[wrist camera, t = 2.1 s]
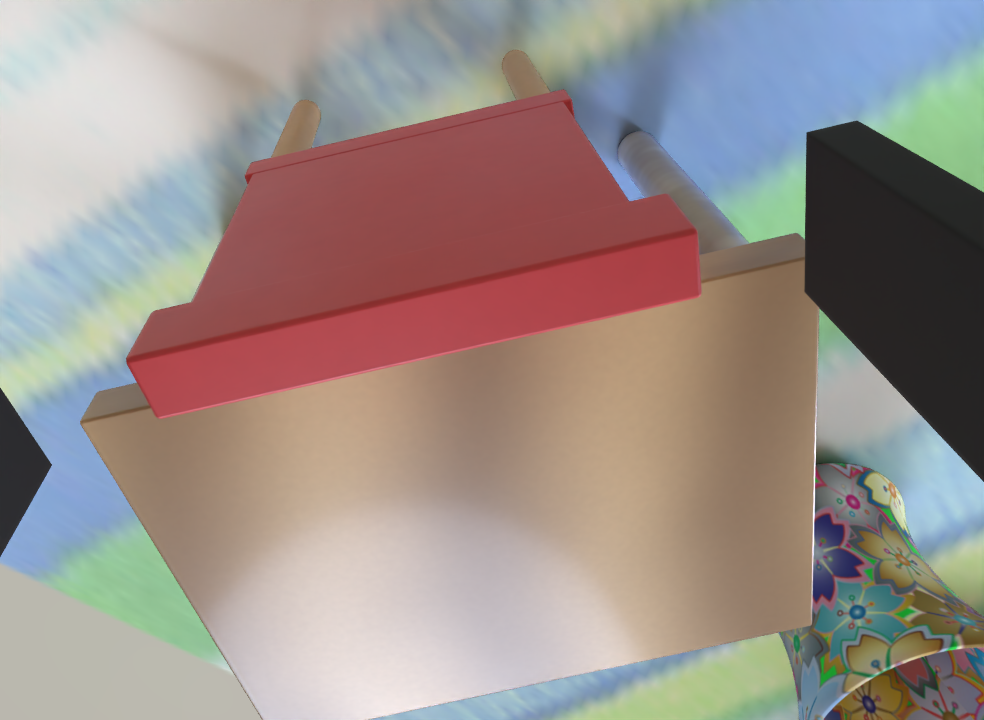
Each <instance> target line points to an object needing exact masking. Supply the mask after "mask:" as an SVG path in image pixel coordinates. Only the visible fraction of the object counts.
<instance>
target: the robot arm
mask: <svg viewBox="0 0 984 720" xmlns="http://www.w3.org/2000/svg"><path fill="white" fill-rule="evenodd" d="M804 292H805V293H806V294H807V295H808V296H809V297H810V298H811V300H812V301H813V302H814V303H815V304H816V305H817V306H818V307H819V308H820V309H821V310H822V311H823V312H824V313H825V314H826V315H827V316H828V318H829V319H830V320H831V321H832V322H833V323H834V324H835V325H836V326H837V327H838V328H839V329H840V330H841V331H842V332H843V333H844V334H845V336H846V337H847V338H848V339H849V340H850V341H851V342H852V343H853V344H854V345H855V346H856V347H857V348H858V349H859V350H860V351H861V352H862V354H863V355H864V356H865V357H866V358H867V359H868V360H869V361H870V362H871V363H872V364H873V365H874V366H875V367H876V368H877V369H878V370H879V371H880V373H881V374H882V375H883V376H884V377H885V378H886V379H887V380H888V381H889V382H890V383H891V384H892V385H893V386H894V387H895V388H896V389H897V391H898V392H899V393H900V394H901V395H902V396H903V397H904V398H905V399H906V400H907V401H908V402H909V403H910V404H911V405H912V406H913V407H914V409H915V410H916V411H917V412H918V413H919V414H920V415H921V416H922V417H923V418H924V419H925V420H926V421H927V422H928V423H929V424H930V425H931V427H932V428H933V429H934V430H935V431H936V432H937V433H938V434H939V435H940V436H941V437H942V438H943V439H944V440H945V441H946V442H947V443H948V445H949V446H950V447H951V448H952V449H953V450H954V451H955V452H956V453H957V454H958V455H959V456H960V457H961V458H962V459H963V460H964V461H965V463H966V464H967V465H968V466H969V467H970V468H971V469H972V470H973V471H974V472H975V473H976V474H977V475H978V476H979V477H980V478H981V479H982V481H983V482H984V192H982V191H980V190H978V189H977V188H975V187H973V186H971V185H970V184H968V183H966V182H964V181H963V180H961V179H959V178H957V177H956V176H954V175H952V174H950V173H949V172H947V171H945V170H943V169H941V168H940V167H938V166H936V165H934V164H933V163H931V162H929V161H927V160H926V159H924V158H922V157H920V156H919V155H917V154H915V153H913V152H912V151H910V150H908V149H906V148H904V147H903V146H901V145H899V144H897V143H896V142H894V141H892V140H890V139H889V138H887V137H885V136H883V135H882V134H880V133H878V132H876V131H875V130H873V129H871V128H869V127H868V126H866V125H864V124H862V123H860V122H859V121H853V122H849V123H845V124H841V125H836V126H832V127H828V128H823V129H819V130H815V131H811V132H807V142H806V213H805V285H804ZM51 466H52V464H51V463H50V461H49V460H48V458H47V457H46V455H45V454H44V452H43V451H42V449H41V448H40V446H39V445H38V443H37V442H36V440H35V439H34V437H33V436H32V434H31V433H30V431H29V430H28V428H27V427H26V425H25V424H24V422H23V421H22V419H21V418H20V416H19V415H18V413H17V412H16V410H15V409H14V407H13V406H12V404H11V403H10V401H9V400H8V398H7V397H6V395H5V394H4V392H3V391H2V389H1V388H0V557H1V555H2V553H3V551H4V549H5V548H6V546H7V544H8V542H9V541H10V539H11V537H12V535H13V533H14V532H15V530H16V528H17V526H18V525H19V523H20V521H21V519H22V517H23V516H24V514H25V512H26V510H27V509H28V507H29V505H30V503H31V501H32V500H33V498H34V496H35V494H36V493H37V491H38V489H39V487H40V485H41V484H42V482H43V480H44V478H45V477H46V475H47V473H48V471H49V469H50V468H51Z"/></svg>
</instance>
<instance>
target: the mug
mask: <svg viewBox="0 0 984 720" xmlns="http://www.w3.org/2000/svg"><path fill="white" fill-rule="evenodd" d="M779 634H780V636H781V639H782V641H783V643H784V646H785V648H786V651H787V654H788V657H789V660H790V664H791V667H792V671H793V676H794V680H795V685H796V691H797V698H798V708H799V720H984V617H983V616H982V615H981V614H979V613H978V612H977V611H975V610H974V609H973V608H971V607H970V606H969V605H968V604H966V603H965V602H964V601H963V600H962V599H960V598H959V597H958V596H957V595H956V594H955V593H954V592H953V591H952V590H950V589H949V588H948V587H947V586H946V585H945V584H944V583H943V582H942V580H941V579H940V578H939V577H938V576H937V575H936V574H935V573H934V572H933V570H932V569H931V568H930V567H929V565H928V564H927V563H926V561H925V560H924V558H923V557H922V556H921V554H920V552H919V551H918V549H917V547H916V546H915V544H914V542H913V540H912V538H911V535H910V533H909V530H908V527H907V524H906V518H905V506H904V502H903V499H902V497H901V494H900V492H899V491H898V489H897V488H896V486H895V485H894V484H893V483H892V482H891V481H890V480H889V479H887V478H886V477H885V476H883V475H882V474H880V473H878V472H877V471H874V470H872V469H870V468H867V467H863V466H859V465H854V464H845V463H829V464H820V465H816V467H815V509H814V552H813V594H812V625H810V626H806V627H802V628H797V629H792V630H787V631H783V632H779Z"/></svg>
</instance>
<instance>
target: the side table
mask: <svg viewBox="0 0 984 720" xmlns="http://www.w3.org/2000/svg"><path fill="white" fill-rule="evenodd" d="M617 154H618V160H619V162H620V164H621V165H622V167H623V168H624V170H625V171H626V172H627V174H628V175H629V177H630V178H631V179H632V181H633V182H634V184H635V185H636V186H637V188H638V189H639V191H640V192H641V193H642V195H643V196H644V198H647V197H652V196H656V195H660V194H669V195H670V196H671V198H672V199H673V200H674V202H675V203H676V204H677V205H678V207H679V208H680V209H681V210H682V212H683V213H684V214H685V215H686V217H687V218H688V219H689V220H690V222H691V223H692V224H693V225H694V227H695V228H696V230H697V231H698V243H699V257H700V272H701V287H702V293H701V296H700V297H698V298H695V299H690V300H686V301H682V302H677V303H673V304H668V305H664V306H659V307H655V308H651V309H646V310H642V311H637V312H633V313H628V314H624V315H620V316H615V317H611V318H606V319H602V320H597V321H593V322H589V323H584V324H580V325H575V326H571V327H566V328H562V329H558V330H553V331H549V332H544V333H540V334H535V335H531V336H527V337H522V338H518V339H513V340H509V341H504V342H500V343H495V344H491V345H487V346H482V347H478V348H473V349H469V350H464V351H460V352H456V353H451V354H447V355H442V356H438V357H433V358H429V359H425V360H420V361H416V362H411V363H407V364H402V365H398V366H394V367H389V368H385V369H380V370H376V371H371V372H367V373H363V374H358V375H354V376H349V377H345V378H340V379H336V380H332V381H327V382H323V383H318V384H314V385H309V386H305V387H301V388H296V389H292V390H287V391H283V392H278V393H274V394H270V395H265V396H261V397H256V398H252V399H247V400H243V401H239V402H234V403H230V404H225V405H221V406H216V407H212V408H208V409H203V410H199V411H194V412H190V413H185V414H181V415H177V416H172V417H168V418H163V419H158V418H157V417H156V416H155V414H154V413H153V411H152V409H151V407H150V405H149V403H148V402H147V400H146V398H145V396H144V394H143V393H142V391H141V389H140V387H139V385H138V383H133V384H129V385H125V386H120V387H116V388H112V389H107V390H103V391H99V392H97V393H96V394H95V396H94V398H93V400H92V401H91V403H90V405H89V407H88V408H87V410H86V412H85V414H84V415H83V417H82V419H81V421H80V424H81V426H82V428H83V429H84V431H85V432H86V434H87V436H88V437H89V439H90V441H91V442H92V444H93V445H94V447H95V449H96V450H97V452H98V454H99V455H100V457H101V458H102V460H103V462H104V463H105V465H106V467H107V468H108V470H109V471H110V473H111V475H112V476H113V478H114V480H115V481H116V483H117V484H118V486H119V488H120V489H121V491H122V493H123V494H124V496H125V497H126V499H127V501H128V502H129V504H130V506H131V507H132V509H133V510H134V512H135V514H136V515H137V517H138V519H139V520H140V522H141V523H142V525H143V527H144V528H145V530H146V532H147V533H148V535H149V536H150V538H151V540H152V541H153V543H154V545H155V546H156V548H157V549H158V551H159V553H160V554H161V556H162V558H163V559H164V561H165V562H166V564H167V566H168V567H169V569H170V571H171V572H172V574H173V575H174V577H175V579H176V580H177V582H178V584H179V585H180V587H181V588H182V590H183V592H184V593H185V595H186V597H187V598H188V600H189V601H190V603H191V605H192V606H193V608H194V610H195V611H196V613H197V614H198V616H199V618H200V619H201V621H202V623H203V624H204V626H205V627H206V629H207V631H208V632H209V634H210V636H211V637H212V639H213V640H214V642H215V644H216V645H217V647H218V649H219V650H220V652H221V653H222V655H223V657H224V658H225V660H226V662H227V663H228V665H229V666H230V668H231V670H232V671H233V673H234V675H235V676H236V678H237V679H238V681H239V683H240V684H241V686H242V687H243V689H244V691H245V693H246V694H247V696H248V697H249V699H250V701H251V702H252V704H253V706H254V707H255V709H256V710H257V712H258V714H259V715H260V717H261V719H262V720H369V719H374V718H379V717H384V716H388V715H393V714H398V713H402V712H407V711H412V710H416V709H421V708H426V707H431V706H435V705H440V704H445V703H449V702H454V701H459V700H463V699H468V698H473V697H477V696H482V695H487V694H492V693H496V692H501V691H506V690H510V689H515V688H520V687H524V686H529V685H534V684H539V683H543V682H548V681H553V680H557V679H562V678H567V677H571V676H576V675H581V674H585V673H590V672H595V671H600V670H604V669H609V668H614V667H618V666H623V665H628V664H632V663H637V662H642V661H647V660H651V659H656V658H661V657H665V656H670V655H675V654H679V653H684V652H689V651H694V650H698V649H703V648H708V647H712V646H717V645H722V644H726V643H731V642H736V641H740V640H745V639H750V638H755V637H759V636H764V635H769V634H773V633H778V632H783V631H787V630H792V629H797V628H802V627H806V626H810V625H812V594H813V552H814V509H815V467H816V425H817V383H818V341H819V307H818V306H817V305H816V304H815V303H814V302H813V301H812V300H811V298H810V297H809V296H808V295H807V294H806V293H805V292H804V285H805V240H804V239H803V238H802V237H801V236H800V235H799V234H798V233H793V234H789V235H785V236H780V237H776V238H771V239H767V240H763V241H758V242H754V243H749V242H748V241H747V240H746V239H745V238H744V236H743V235H742V234H741V233H740V232H739V231H738V230H737V229H736V228H735V227H734V225H733V224H732V223H731V222H730V221H729V220H728V219H727V218H726V217H725V216H724V214H723V213H722V212H721V211H720V210H719V209H718V208H717V207H716V206H715V204H714V203H713V202H712V201H711V200H710V199H709V198H708V197H707V196H706V195H705V193H704V192H703V191H702V190H701V189H700V188H699V187H698V186H697V185H696V183H695V182H694V181H693V180H692V179H691V178H690V177H689V176H688V175H687V174H686V172H685V171H684V170H683V169H682V168H681V167H680V166H679V165H678V164H677V163H676V161H675V160H674V159H673V158H672V157H671V156H670V155H669V154H668V153H667V151H666V150H665V149H664V148H663V147H662V146H661V145H660V144H659V143H658V142H657V140H656V139H655V138H654V137H653V136H652V135H651V134H649V133H647V132H643V131H637V132H633V133H631V134H629V135H627V136H626V137H625V138H624V139H623V140H622V142H621V143H620V145H619V148H618V153H617ZM224 234H225V232H224ZM224 234H223V236H224ZM223 236H222V238H223ZM222 238H221V240H222ZM221 240H220V242H221ZM220 242H219V244H220ZM219 244H218V246H219ZM218 246H217V248H218ZM217 248H216V250H217ZM216 250H215V252H216ZM215 252H214V254H213V257H214V255H215ZM213 257H212V259H213ZM212 259H211V261H212ZM211 261H210V263H211ZM210 263H209V265H210ZM209 265H208V267H209ZM208 267H207V269H208ZM207 269H206V271H207ZM206 271H205V273H206ZM205 273H204V275H205ZM204 275H203V277H202V279H201V282H202V280H203V278H204ZM201 282H200V284H201ZM200 284H199V286H200ZM199 286H198V288H199ZM198 288H197V290H198ZM197 290H196V292H197ZM196 292H195V294H196ZM195 294H194V296H195ZM194 296H193V298H194ZM193 298H192V300H191V302H192V301H193ZM191 302H190V303H191Z"/></svg>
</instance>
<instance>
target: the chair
mask: <svg viewBox="0 0 984 720" xmlns="http://www.w3.org/2000/svg"><path fill="white" fill-rule="evenodd" d="M502 71H503V73H504V75H505V77H506V79H507V81H508V83H509V86H510V88H511V90H512V92H513V94H514V96H515V98H516V101H511V102H507V103H503V104H499V105H494V106H490V107H486V108H482V109H477V110H473V111H469V112H465V113H460V114H456V115H452V116H447V117H443V118H439V119H435V120H430V121H426V122H422V123H418V124H413V125H409V126H405V127H401V128H396V129H392V130H388V131H383V132H379V133H375V134H371V135H366V136H362V137H358V138H354V139H349V140H345V141H341V142H337V143H332V144H328V145H324V146H320V147H315V148H312V144H313V141H314V138H315V135H316V132H317V129H318V126H319V122H320V119H321V112H320V109H319V107H318V106H317V105H316V104H315V103H314V102H312V101H309V100H301V101H299V102H297V103H296V104H295V105H294V107H293V109H292V111H291V113H290V116H289V118H288V120H287V122H286V125H285V127H284V129H283V132H282V134H281V136H280V138H279V141H278V143H277V145H276V147H275V150H274V152H273V154H272V156H271V158H268V159H264V160H260V161H256V162H252V163H251V164H250V166H249V168H248V170H247V172H246V174H245V179H246V181H247V184H248V185H247V188H246V190H245V192H244V194H243V196H242V198H241V200H240V202H239V204H238V206H237V208H236V211H235V213H234V215H233V217H232V219H231V221H230V223H229V225H228V227H227V229H226V231H225V234H224V236H223V238H222V240H221V242H220V244H219V246H218V248H217V250H216V252H215V255H214V257H213V259H212V261H211V263H210V265H209V267H208V269H207V271H206V273H205V275H204V278H203V280H202V282H201V284H200V286H199V288H198V290H197V292H196V294H195V296H194V298H193V301H192V302H191V303H186V304H182V305H177V306H173V307H169V308H164V309H160V310H156V311H154V312H152V313H151V314H150V316H149V318H148V320H147V322H146V323H145V325H144V327H143V329H142V331H141V332H140V334H139V336H138V338H137V340H136V341H135V343H134V345H133V347H132V349H131V350H130V352H129V354H128V356H127V358H126V362H127V365H128V367H129V369H130V371H131V372H132V374H133V376H134V378H135V380H136V382H137V383H138V385H139V387H140V389H141V391H142V393H143V394H144V396H145V398H146V400H147V402H148V403H149V405H150V407H151V409H152V411H153V413H154V414H155V416H156V417H157V418H158V419H163V418H168V417H172V416H177V415H181V414H185V413H190V412H194V411H199V410H203V409H208V408H212V407H216V406H221V405H225V404H230V403H234V402H239V401H243V400H247V399H252V398H256V397H261V396H265V395H270V394H274V393H278V392H283V391H287V390H292V389H296V388H301V387H305V386H309V385H314V384H318V383H323V382H327V381H332V380H336V379H340V378H345V377H349V376H354V375H358V374H363V373H367V372H371V371H376V370H380V369H385V368H389V367H394V366H398V365H402V364H407V363H411V362H416V361H420V360H425V359H429V358H433V357H438V356H442V355H447V354H451V353H456V352H460V351H464V350H469V349H473V348H478V347H482V346H487V345H491V344H495V343H500V342H504V341H509V340H513V339H518V338H522V337H527V336H531V335H535V334H540V333H544V332H549V331H553V330H558V329H562V328H566V327H571V326H575V325H580V324H584V323H589V322H593V321H597V320H602V319H606V318H611V317H615V316H620V315H624V314H628V313H633V312H637V311H642V310H646V309H651V308H655V307H659V306H664V305H668V304H673V303H677V302H682V301H686V300H690V299H695V298H698V297H700V296H701V293H702V287H701V272H700V257H699V243H698V231H697V230H696V228H695V227H694V225H693V224H692V223H691V222H690V220H689V219H688V218H687V217H686V215H685V214H684V213H683V212H682V210H681V209H680V208H679V207H678V205H677V204H676V203H675V202H674V200H673V199H672V198H671V196H670V195H669V194H660V195H656V196H652V197H647V198H643V199H639V200H634V201H630V202H629V200H628V199H627V197H626V196H625V194H624V193H623V191H622V190H621V188H620V187H619V185H618V184H617V182H616V181H615V179H614V178H613V176H612V174H611V173H610V171H609V170H608V168H607V167H606V165H605V164H604V162H603V161H602V159H601V158H600V156H599V155H598V153H597V152H596V150H595V149H594V147H593V146H592V144H591V143H590V141H589V140H588V138H587V137H586V135H585V134H584V132H583V131H582V129H581V128H580V126H579V125H578V123H577V122H576V120H575V117H574V110H573V103H572V99H571V98H570V96H569V95H568V94H567V92H566V91H565V90H564V89H563V90H558V91H554V92H550V91H549V89H548V87H547V86H546V84H545V83H544V81H543V80H542V78H541V76H540V75H539V73H538V72H537V70H536V69H535V67H534V65H533V64H532V62H531V61H530V59H529V58H528V56H527V55H526V54H525V53H524V52H523V51H521V50H512V51H510V52H508V53H507V54H506V55H505V56H504V58H503V60H502Z"/></svg>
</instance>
